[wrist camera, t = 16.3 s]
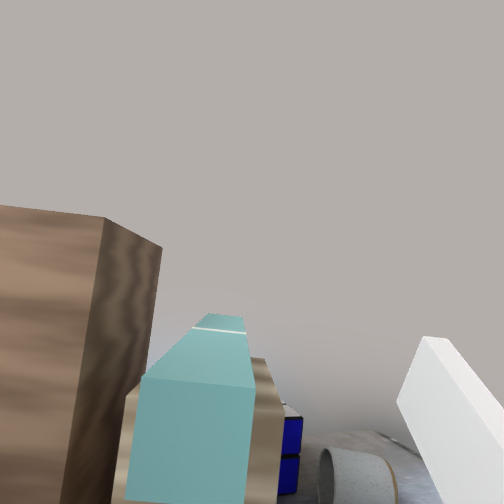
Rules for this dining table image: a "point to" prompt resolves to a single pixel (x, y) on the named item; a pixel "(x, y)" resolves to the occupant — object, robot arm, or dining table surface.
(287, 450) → the puzzle cube
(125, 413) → the zigzag grain block
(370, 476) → the ceramic mug
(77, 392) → the walnut stand
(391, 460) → the dining table surface
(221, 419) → the teal long square bar
